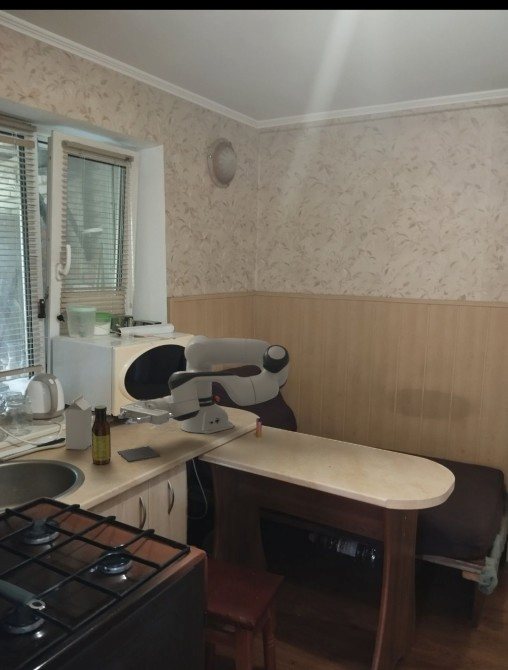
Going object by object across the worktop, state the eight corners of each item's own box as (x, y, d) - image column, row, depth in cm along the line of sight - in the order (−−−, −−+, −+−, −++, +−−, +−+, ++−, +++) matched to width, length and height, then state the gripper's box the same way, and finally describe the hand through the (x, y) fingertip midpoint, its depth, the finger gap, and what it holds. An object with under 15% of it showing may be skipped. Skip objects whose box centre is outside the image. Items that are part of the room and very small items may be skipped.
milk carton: (92, 444, 208) (91, 395, 205) (84, 450, 201) (83, 399, 198) (74, 443, 208) (73, 394, 206) (65, 449, 201) (64, 398, 199)
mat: (148, 447, 205) (148, 446, 205) (160, 456, 196) (160, 454, 196) (117, 452, 199) (117, 451, 199) (128, 462, 190) (128, 460, 190)
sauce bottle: (97, 458, 193) (96, 403, 190) (114, 459, 192) (113, 404, 189) (88, 464, 186) (87, 407, 184) (105, 466, 185) (105, 409, 183)
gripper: (176, 423, 203) (150, 432, 191) (136, 414, 214) (109, 422, 202) (176, 407, 202) (150, 414, 190) (136, 399, 213) (109, 405, 201)
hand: (128, 418), depth 196 cm, fingers open, 8 cm apart
